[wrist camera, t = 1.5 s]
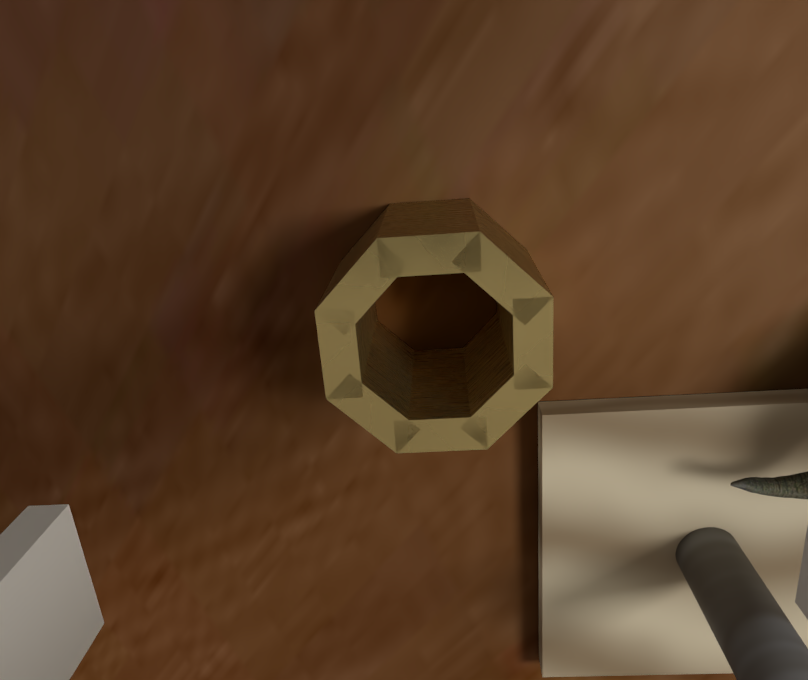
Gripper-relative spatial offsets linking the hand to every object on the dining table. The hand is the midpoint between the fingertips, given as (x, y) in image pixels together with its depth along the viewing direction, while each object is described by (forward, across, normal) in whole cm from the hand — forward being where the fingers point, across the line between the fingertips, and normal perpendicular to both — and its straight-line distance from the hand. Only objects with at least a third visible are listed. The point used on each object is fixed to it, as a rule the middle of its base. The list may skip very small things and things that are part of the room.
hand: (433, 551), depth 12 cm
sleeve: (+15, 0, 0) cm, 15 cm away
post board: (+15, +11, -12) cm, 22 cm away
